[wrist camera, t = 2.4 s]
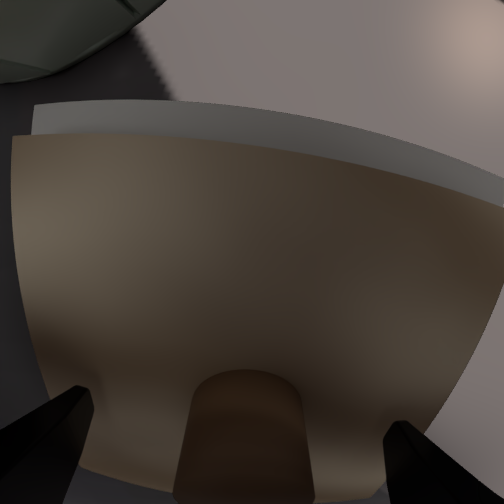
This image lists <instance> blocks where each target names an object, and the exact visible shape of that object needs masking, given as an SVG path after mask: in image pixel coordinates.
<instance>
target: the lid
mask: <svg viewBox="0 0 504 504" xmlns="http://www.w3.org/2000/svg"><path fill="white" fill-rule="evenodd" d="M11 206H12V225H13V237H14V247H15V256H16V264H17V271H18V278H19V284H20V290H21V295H22V300H23V305H24V310H25V315H26V319H27V324H28V328H29V332H30V336H31V340H32V344H33V347H34V351H35V354H36V358H37V361H38V364H39V368H40V371H41V374H42V377H43V380H44V383H45V386H46V389H47V392H48V394H49V397H50V400H52V399H53V398H55V397H56V396H58V395H60V394H61V393H63V392H65V391H66V390H68V389H70V388H71V387H73V386H75V385H80V386H83V387H86V388H88V389H89V390H90V392H91V396H92V400H93V404H94V414H93V418H92V421H91V424H90V428H89V431H88V435H87V438H86V442H85V445H84V449H83V452H82V455H81V458H80V460H79V465H80V467H82V468H85V469H87V470H90V471H93V472H96V473H99V474H102V475H105V476H108V477H111V478H115V479H118V480H121V481H125V482H129V483H132V484H136V485H140V486H144V487H148V488H152V489H157V490H161V491H166V492H171V493H172V494H173V497H174V499H175V500H176V501H177V502H178V503H179V504H313V503H323V502H336V501H347V500H356V499H363V498H370V497H371V496H372V495H373V494H374V493H375V492H376V491H377V490H378V489H379V487H380V486H381V485H382V484H383V483H384V482H385V481H386V473H385V462H384V453H383V438H384V435H385V434H386V432H387V431H388V429H389V428H390V426H391V425H392V423H393V422H394V421H398V420H407V421H408V422H410V423H411V424H412V425H413V426H414V427H415V428H417V429H418V430H419V431H420V432H421V433H422V434H424V433H425V431H426V430H427V428H428V427H429V426H430V424H431V422H432V421H433V420H434V418H435V417H436V415H437V414H438V412H439V411H440V409H441V408H442V406H443V405H444V403H445V402H446V400H447V398H448V397H449V395H450V393H451V392H452V390H453V389H454V387H455V385H456V384H457V382H458V380H459V378H460V377H461V375H462V373H463V371H464V369H465V368H466V366H467V364H468V362H469V360H470V358H471V357H472V355H473V353H474V351H475V349H476V347H477V345H478V343H479V341H480V338H481V336H482V334H483V332H484V330H485V328H486V326H487V323H488V321H489V319H490V317H491V314H492V312H493V309H494V307H495V305H496V302H497V300H498V297H499V294H500V292H501V289H502V286H503V284H504V208H503V207H500V206H498V205H495V204H492V203H489V202H487V201H484V200H481V199H478V198H475V197H472V196H469V195H466V194H463V193H460V192H457V191H454V190H451V189H448V188H444V187H441V186H438V185H435V184H431V183H428V182H424V181H421V180H417V179H414V178H410V177H407V176H403V175H399V174H395V173H391V172H387V171H383V170H379V169H375V168H371V167H367V166H363V165H358V164H354V163H349V162H345V161H340V160H335V159H330V158H325V157H320V156H315V155H310V154H304V153H298V152H293V151H287V150H281V149H274V148H268V147H261V146H254V145H247V144H239V143H231V142H223V141H214V140H205V139H194V138H183V137H170V136H155V135H136V134H100V133H73V134H39V135H22V136H13V140H12V158H11Z"/></svg>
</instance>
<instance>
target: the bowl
mask: <svg viewBox="0 0 504 504" xmlns="http://www.w3.org/2000/svg"><path fill="white" fill-rule="evenodd" d="M165 1H166V0H0V84H2V83H7V82H11V83H19V82H29V81H33V80H37V79H41V78H45V77H47V76H50V75H52V74H55V73H58V72H60V71H63V70H65V69H67V68H69V67H71V66H73V65H75V64H77V63H79V62H81V61H83V60H85V59H86V58H88V57H90V56H91V55H93V54H95V53H97V52H98V51H100V50H102V49H103V48H105V47H106V46H108V45H109V44H111V43H112V42H114V41H115V40H117V39H118V38H120V37H121V36H123V35H124V34H125V33H127V32H128V31H129V30H131V29H132V28H133V27H135V26H136V25H137V24H139V23H140V22H141V21H143V20H144V19H145V18H146V17H147V16H149V15H150V14H151V13H152V12H153V11H155V10H156V9H157V8H158V7H160V6H161V5H162V4H163V3H164V2H165Z"/></svg>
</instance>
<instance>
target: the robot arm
mask: <svg viewBox="0 0 504 504" xmlns="http://www.w3.org/2000/svg"><path fill="white" fill-rule="evenodd" d="M93 414H94V404H93V400H92V396H91V392H90V390H89V389H88V388H86V387H83V386H80V385H75V386H73V387H71V388H70V389H68V390H66V391H65V392H63V393H61V394H60V395H58V396H56V397H55V398H53V399H52V400H50V401H48V402H47V403H45V404H43V405H42V406H40V407H38V408H37V409H35V410H33V411H32V412H30V413H28V414H27V415H25V416H23V417H21V418H20V419H18V420H16V421H15V422H13V423H11V424H10V425H8V426H6V427H5V428H3V429H1V430H0V504H62V503H63V501H64V498H65V495H66V493H67V490H68V488H69V485H70V482H71V480H72V477H73V475H74V472H75V470H76V467H77V465H78V463H79V460H80V458H81V455H82V452H83V449H84V445H85V442H86V438H87V435H88V431H89V428H90V424H91V421H92V418H93ZM383 453H384V462H385V473H386V481H387V488H388V492H389V497H390V503H391V504H504V499H503V498H502V497H500V496H499V495H497V494H496V493H494V492H493V491H492V490H490V489H489V488H488V487H487V486H485V485H484V484H483V483H481V482H480V481H478V479H476V478H475V477H474V476H473V475H472V474H470V473H469V472H468V471H467V470H465V469H464V468H463V467H462V466H461V465H459V464H458V463H457V462H456V461H455V460H453V459H452V458H451V457H450V456H449V455H447V454H446V453H445V452H444V451H443V450H441V449H440V448H439V447H438V446H437V445H435V444H434V443H433V442H432V441H430V440H429V439H428V438H427V437H426V436H425V435H424V434H422V433H421V432H420V431H419V430H418V429H417V428H415V427H414V426H413V425H412V424H411V423H410V422H408V421H407V420H398V421H394V422H393V423H392V425H391V426H390V428H389V429H388V431H387V432H386V434H385V435H384V438H383Z"/></svg>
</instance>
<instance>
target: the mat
mask: <svg viewBox="0 0 504 504" xmlns="http://www.w3.org/2000/svg"><path fill="white" fill-rule="evenodd" d="M73 133H100V134H136V135H155V136H170V137H183V138H194V139H205V140H214V141H223V142H231V143H239V144H247V145H254V146H261V147H268V148H274V149H281V150H287V151H293V152H298V153H304V154H310V155H315V156H320V157H325V158H330V159H335V160H340V161H345V162H349V163H354V164H358V165H363V166H367V167H371V168H375V169H379V170H383V171H387V172H391V173H395V174H399V175H403V176H407V177H410V178H414V179H417V180H421V181H424V182H428V183H431V184H435V185H438V186H441V187H444V188H448V189H451V190H454V191H457V192H460V193H463V194H466V195H469V196H472V197H475V198H478V199H481V200H484V201H487V202H489V203H492V204H495V205H498V206H500V207H503V203H504V178H501V177H499V176H496V175H495V174H492V173H490V172H488V171H485V170H483V169H480V168H478V167H476V166H473V165H471V164H468V163H466V162H463V161H460V160H458V159H455V158H453V157H450V156H447V155H444V154H442V153H439V152H436V151H433V150H430V149H427V148H424V147H421V146H418V145H415V144H412V143H409V142H405V141H402V140H399V139H396V138H392V137H389V136H385V135H382V134H378V133H374V132H371V131H367V130H363V129H359V128H355V127H351V126H347V125H342V124H338V123H334V122H329V121H324V120H320V119H314V118H310V117H304V116H299V115H293V114H288V113H282V112H276V111H269V110H262V109H255V108H248V107H239V106H230V105H222V104H211V103H199V102H185V101H165V100H93V101H74V102H61V103H50V104H40V105H35V106H34V113H33V122H32V133H31V135H39V134H73Z"/></svg>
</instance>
